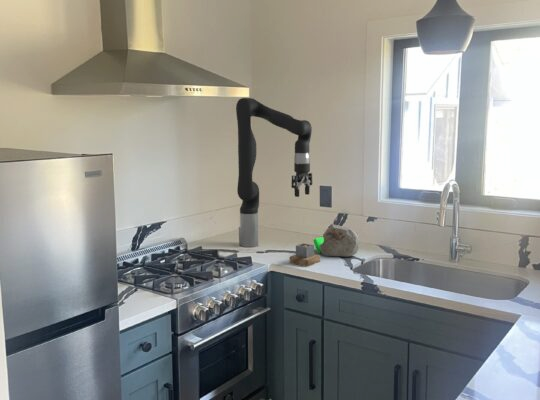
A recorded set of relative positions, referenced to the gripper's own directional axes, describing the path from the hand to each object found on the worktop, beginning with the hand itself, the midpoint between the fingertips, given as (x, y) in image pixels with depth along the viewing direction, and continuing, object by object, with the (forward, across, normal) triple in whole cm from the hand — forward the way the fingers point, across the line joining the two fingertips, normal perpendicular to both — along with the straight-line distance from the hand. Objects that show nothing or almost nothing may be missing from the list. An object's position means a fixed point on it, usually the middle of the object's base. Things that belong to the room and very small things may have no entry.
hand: (302, 195), depth 265 cm
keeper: (+28, +15, +12) cm, 34 cm away
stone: (+28, -4, +19) cm, 34 cm away
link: (+25, +15, +12) cm, 32 cm away
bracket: (+29, -13, +7) cm, 32 cm away
